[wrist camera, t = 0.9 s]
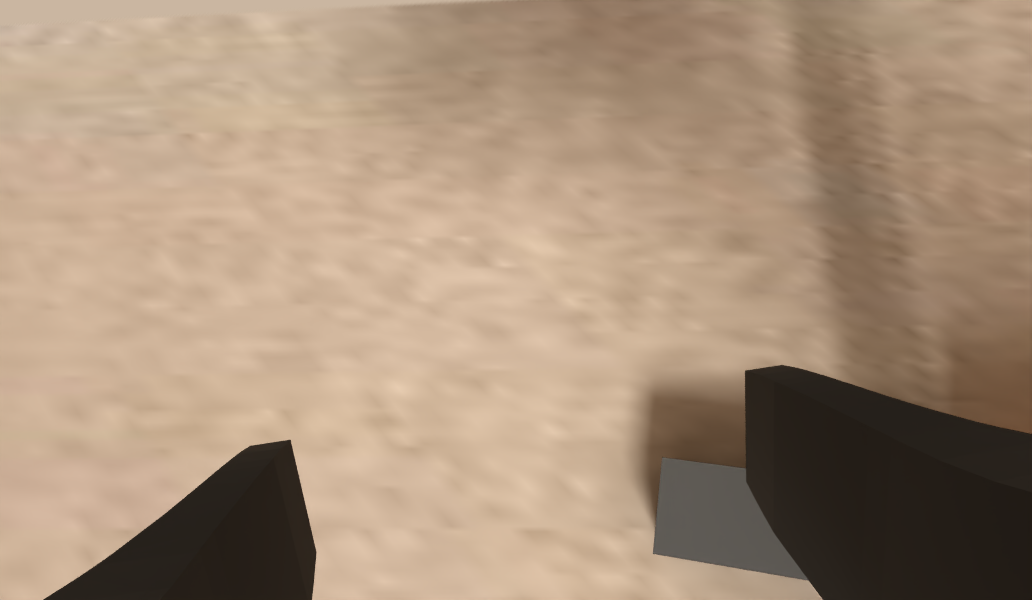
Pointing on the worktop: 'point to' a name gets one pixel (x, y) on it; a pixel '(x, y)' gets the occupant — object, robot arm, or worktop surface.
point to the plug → (716, 520)
